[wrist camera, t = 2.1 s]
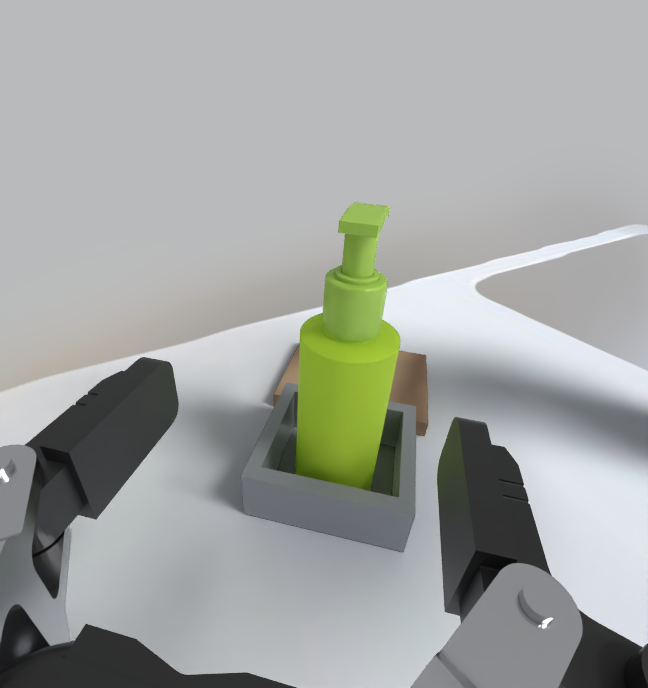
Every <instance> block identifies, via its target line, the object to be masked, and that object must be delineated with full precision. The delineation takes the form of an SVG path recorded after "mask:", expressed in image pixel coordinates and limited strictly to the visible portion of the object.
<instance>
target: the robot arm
mask: <svg viewBox="0 0 648 688" xmlns="http://www.w3.org/2000/svg"><path fill="white" fill-rule="evenodd" d="M178 404H179V403H178V397H177V391H176V385H175V379H174V373H173V368H172V365H171V364H170V363H169V362H167V361H162V360H156V359H151V358H146V357H142V358H140V359H138V360H137V361H136V362H135V363H134V364H132V365H131V366H130V367H129V368H128V369H127V370H125V371H120V372H118V373H116V374H114V375H112V376H110V377H108V378H106V379H104V380H102V381H101V382H100V383H98V384H97V385H96V386H95V387H94V388H92V389H91V390H90V391H89V392H88V394H87V395H84V396H83V397H82V398H80V399H79V400H78V401H77V402H76V405H72V406H71V407H70V408H69V409H67V410H66V411H65V412H64V413H63V414H61V415H60V416H59V417H58V418H57V419H55V420H54V421H53V422H52V423H51V424H49V425H48V426H47V427H46V428H45V429H43V430H42V431H41V432H40V433H39V434H38V435H36V436H35V437H34V438H33V439H32V440H30V441H29V442H28V443H27V444H25V445H9V446H3V447H0V688H296V687H293V686H289V685H286V684H283V683H279V682H276V681H273V680H269V679H266V678H263V677H260V676H256V675H253V674H250V673H223V674H199V675H184V674H181V673H179V672H177V671H176V670H175V669H173V668H172V667H171V666H169V665H168V664H167V663H166V662H164V661H163V660H162V659H161V658H159V657H158V656H157V655H156V654H154V653H153V652H152V651H150V650H149V649H148V648H147V647H145V646H144V645H143V644H142V643H140V642H139V641H138V640H137V639H134V638H131V637H128V636H124V635H121V634H118V633H114V632H111V631H108V630H104V629H101V628H98V627H94V626H91V625H88V624H86V625H85V626H84V628H83V629H82V631H81V632H80V634H79V635H78V637H77V638H76V640H75V641H70V633H69V626H68V621H67V617H66V591H67V579H68V567H69V555H70V544H71V527H70V523H71V522H72V521H73V520H74V519H75V517H76V516H77V515H81V516H85V517H89V518H92V519H97V518H98V516H99V515H100V514H101V513H102V511H103V510H104V509H105V508H106V506H107V505H108V504H109V503H110V501H111V500H112V499H113V498H114V496H115V495H116V494H117V493H118V491H119V490H120V489H121V487H122V486H123V485H124V484H125V482H126V481H127V480H128V479H129V477H130V476H131V475H132V474H133V472H134V471H135V470H136V469H137V467H138V466H139V465H140V464H141V462H142V461H143V460H144V459H145V457H146V456H147V455H148V454H149V452H150V451H151V450H152V449H153V447H154V446H155V445H156V443H157V442H158V441H159V440H160V438H161V437H162V436H163V435H164V433H165V432H166V431H167V430H168V428H169V427H170V426H171V425H172V423H173V422H174V420H175V418H176V415H177V412H178ZM437 485H438V502H439V519H440V537H441V554H442V571H443V589H444V606H445V612H448V613H452V614H455V615H459V616H460V619H461V625H460V626H459V627H458V629H457V630H456V631H455V633H454V634H453V635H452V637H451V638H450V639H449V641H448V642H447V644H446V645H445V646H444V647H443V649H442V650H441V651H440V652H438V653H437V654H436V655H435V656H434V657H433V659H432V660H431V661H430V662H429V664H428V665H427V666H426V668H425V669H424V670H423V671H422V673H421V674H420V676H419V677H418V678H417V680H416V681H415V682H414V684H413V685H412V686H411V688H648V644H646V645H645V646H644V647H641V646H639V645H637V644H635V643H634V642H632V641H630V640H628V639H626V638H625V637H623V636H621V635H619V634H617V633H616V632H614V631H612V630H610V629H608V628H607V627H605V626H603V625H601V624H599V623H598V622H596V621H594V620H593V619H591V618H589V617H588V616H587V615H585V614H584V613H583V612H581V611H580V610H579V609H578V608H577V606H576V604H575V602H574V600H573V599H572V597H571V596H570V594H569V593H568V592H567V590H566V589H565V588H564V587H563V586H562V585H561V584H560V583H559V582H558V581H557V580H556V579H555V578H554V577H552V575H551V573H550V571H549V568H548V565H547V561H546V558H545V555H544V551H543V548H542V544H541V541H540V538H539V534H538V531H537V527H536V524H535V520H534V517H533V514H532V510H531V507H530V504H528V497H527V493H526V490H525V488H524V487H523V485H524V483H523V480H522V476H521V473H520V469H519V466H518V464H517V463H516V461H515V460H514V459H513V457H512V456H511V455H510V453H509V452H508V451H507V449H506V448H505V447H501V446H496V445H491V441H490V437H489V432H488V428H487V425H486V423H484V422H479V421H474V420H468V419H463V418H458V417H455V418H454V419H453V421H452V424H451V427H450V430H449V433H448V436H447V438H446V441H445V444H444V447H443V450H442V453H441V456H440V460H439V465H438V474H437Z"/></svg>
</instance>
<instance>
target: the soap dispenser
mask: <svg viewBox="0 0 648 688" xmlns="http://www.w3.org/2000/svg"><path fill="white" fill-rule="evenodd" d="M389 212H390V207H389V206H383V205H374V204H366V203H358V202H355V203H353V204H351V205H350V206H349V208H348V209H347V210H346V212H345V213H344V215H343V216H342V218H341V219H340V221H339V231H338V232H339V233H345V240H344V251H343V262H342V265H341V266H338V267H337V268H334V269H332V270H330V271H329V272H328V273H327V274H326V277H325V290H324V304H323V313H321V314H318V315H315V316H313V317H311V318H310V319H308V320H307V321H306V322H305V323H304V324H303V325H302V327H301V330H300V351H299V381H298V411H297V441H296V471H295V475H299V476H304V477H308V478H313V479H317V480H322V481H326V482H331V483H336V484H340V485H345V486H349V487H354V488H358V489H363V490H367V491H370V490H371V486H372V481H373V476H374V471H375V466H376V461H377V456H378V451H379V446H380V441H381V436H382V431H383V426H384V421H385V416H386V411H387V407H388V402H389V397H390V392H391V387H392V382H393V377H394V372H395V367H396V362H397V357H398V352H399V347H400V337H399V334H398V332H397V331H396V330H395V329H394V328H393V327H392V326H391V325H390V324H389V323H387V322H385V321H384V320H382V316H383V310H384V304H385V298H386V292H387V285H388V281H387V279H386V277H385V276H384V275H383V274H381V273H379V272H378V271H377V270H376V269H374V264H375V258H376V251H377V243H378V236H379V233H380V230H381V228H382V226H383V224H384V221H385V219H386V218H387V216H389Z"/></svg>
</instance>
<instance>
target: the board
mask: <svg viewBox="0 0 648 688" xmlns="http://www.w3.org/2000/svg"><path fill="white" fill-rule="evenodd" d="M299 351H300V344H299V346H298V348H297V349H296V351H295V353H294V355H293V357H292V359H291V361H290V363H289V365H288V367H287V369H286V371H285V373H284V375H283V377H282V379H281V381H280V383H279V385H278V387H277V389H276V391H275V393H274V407H275V405H276V403H277V401H278V399H279V396H280V394H281V392H282V390H283V388H284V386H285V384H286V382H288V383H293V384H298V381H299ZM389 401H391V402H396V403H401V404H407V405H412V406H416V434H417V435H422V436H425V433H426V429H427V426H428V402H427V368H426V355H421V354H415V353H409V352H403V351H399V352H398V357H397V362H396V367H395V372H394V377H393V382H392V387H391V392H390V397H389Z"/></svg>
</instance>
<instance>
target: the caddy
mask: <svg viewBox="0 0 648 688" xmlns="http://www.w3.org/2000/svg"><path fill="white" fill-rule="evenodd" d="M297 411H298V384H293V383H288V382H286V384H285V386H284V388H283V390H282V392H281V394H280V396H279V399H278V401H277V403H276V405H275V407H274V409H273V411H272V413H271V415H270V417H269V419H268V421H267V423H266V425H265V427H264V429H263V431H262V433H261V436H260V438H259V440H258V442H257V444H256V446H255V448H254V450H253V452H252V454H251V456H250V458H249V460H248V462H247V464H246V466H245V468H244V471H243V473H242V475H241V484H242V496H243V508H244V514H247V515H251V516H255V517H259V518H264V519H268V520H272V521H276V522H280V523H284V524H288V525H293V526H297V527H301V528H305V529H309V530H313V531H317V532H322V533H326V534H330V535H334V536H338V537H342V538H346V539H351V540H355V541H359V542H363V543H367V544H371V545H376V546H380V547H384V548H388V549H392V550H396V551H400V552H404V549H405V546H406V542H407V539H408V536H409V533H410V530H411V527H412V524H413V521H414V517H415V474H416V406H412V405H407V404H401V403H396V402H391V401H389V402H388V407H387V411H386V416H385V421H384V426H383V431H382V436H381V441H380V444H383V445H388V446H393V447H395V457H394V471H393V485H392V496H390V495H385V494H381V493H376V492H372V491H367V490H363V489H358V488H354V487H349V486H345V485H340V484H336V483H331V482H326V481H322V480H317V479H313V478H308V477H304V476H299V475H295V474H290V473H286V472H281V471H277V467H278V465H279V462H280V459H281V457H282V454H283V452H284V449H285V447H286V444H287V442H288V439H289V437H290V434H291V432H292V429H293V427H297Z"/></svg>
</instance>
